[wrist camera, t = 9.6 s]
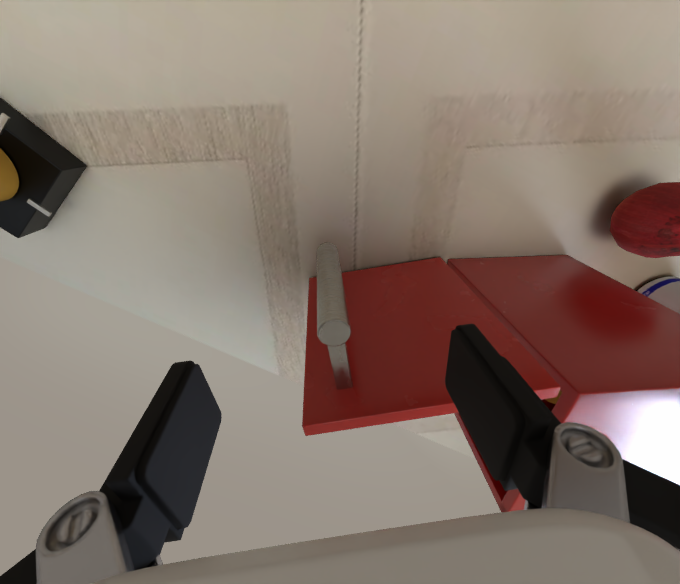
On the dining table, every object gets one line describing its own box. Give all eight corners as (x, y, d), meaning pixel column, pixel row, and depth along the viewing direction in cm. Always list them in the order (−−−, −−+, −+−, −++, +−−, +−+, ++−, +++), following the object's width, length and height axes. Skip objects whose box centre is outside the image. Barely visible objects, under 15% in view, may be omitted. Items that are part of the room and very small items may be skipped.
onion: (600, 251, 28) (692, 292, 21) (576, 212, 26) (668, 244, 19) (662, 205, 26) (785, 235, 19) (641, 160, 24) (770, 174, 17)
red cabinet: (428, 358, 34) (504, 519, 20) (447, 258, 28) (579, 394, 14) (525, 353, 35) (663, 504, 21) (567, 254, 28) (806, 379, 14)
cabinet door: (298, 231, 25) (277, 355, 11) (442, 207, 25) (591, 306, 11) (310, 285, 28) (305, 436, 14) (440, 264, 27) (557, 397, 14)
